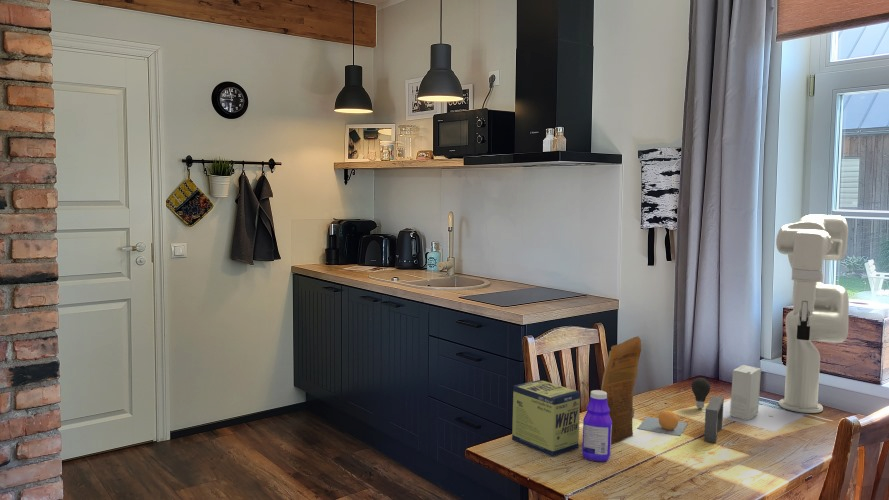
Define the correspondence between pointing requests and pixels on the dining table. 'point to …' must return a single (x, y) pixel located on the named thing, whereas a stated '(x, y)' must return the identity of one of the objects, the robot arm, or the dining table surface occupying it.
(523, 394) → the protein box
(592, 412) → the bottle
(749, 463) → the dining table surface
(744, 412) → the skincare box
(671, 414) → the ball
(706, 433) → the bridge
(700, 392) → the light bulb
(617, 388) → the pancake mix bag
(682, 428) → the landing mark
